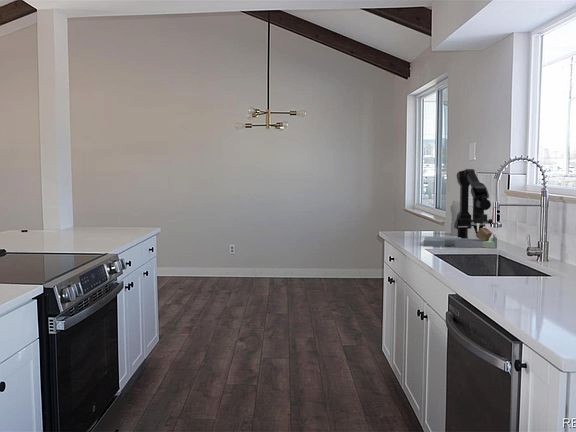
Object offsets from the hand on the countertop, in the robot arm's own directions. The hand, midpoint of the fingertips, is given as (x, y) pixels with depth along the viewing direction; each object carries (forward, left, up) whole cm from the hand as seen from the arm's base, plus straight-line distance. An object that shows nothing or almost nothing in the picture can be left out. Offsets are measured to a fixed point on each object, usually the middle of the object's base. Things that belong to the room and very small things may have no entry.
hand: (477, 237), depth 293 cm
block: (+3, +2, 0) cm, 4 cm away
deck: (0, -10, -4) cm, 11 cm away
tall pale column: (-42, -10, -4) cm, 43 cm away
